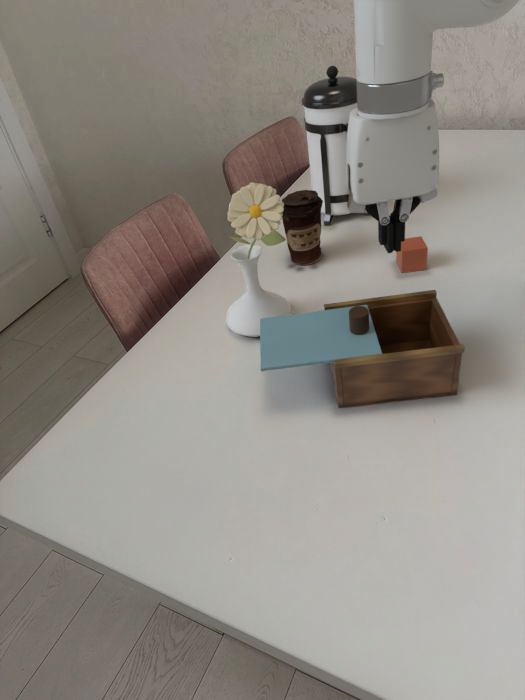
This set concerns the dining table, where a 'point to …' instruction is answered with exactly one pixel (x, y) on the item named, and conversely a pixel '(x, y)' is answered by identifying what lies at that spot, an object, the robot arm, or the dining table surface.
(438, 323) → the wooden box
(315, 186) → the coffee press
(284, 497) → the dining table surface
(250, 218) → the flower in vase
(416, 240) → the block
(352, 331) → the sliding box lid
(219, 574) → the dining table surface
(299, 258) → the coffee cup
